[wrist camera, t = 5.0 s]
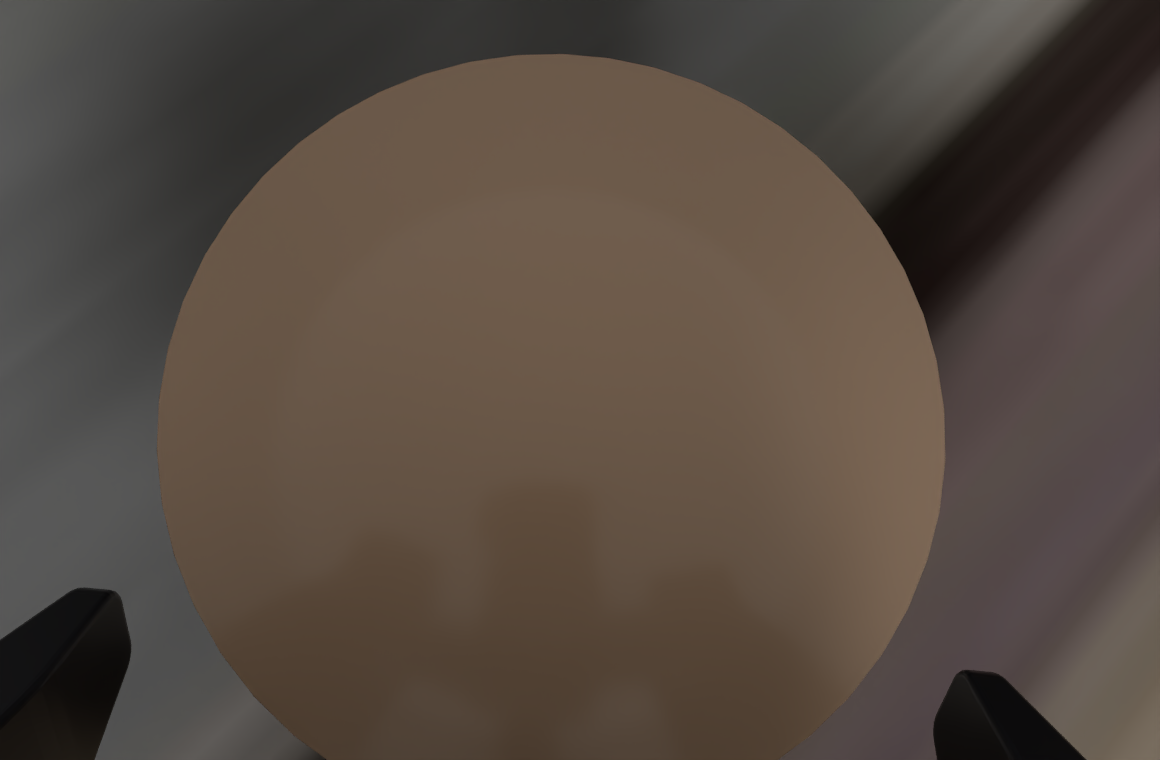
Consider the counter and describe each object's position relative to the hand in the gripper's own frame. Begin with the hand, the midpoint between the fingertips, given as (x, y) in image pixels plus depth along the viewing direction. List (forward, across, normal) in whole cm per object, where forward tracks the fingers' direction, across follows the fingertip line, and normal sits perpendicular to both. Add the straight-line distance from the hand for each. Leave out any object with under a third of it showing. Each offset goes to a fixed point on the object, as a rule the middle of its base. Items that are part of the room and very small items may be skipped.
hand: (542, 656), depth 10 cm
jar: (+8, 0, +5) cm, 10 cm away
